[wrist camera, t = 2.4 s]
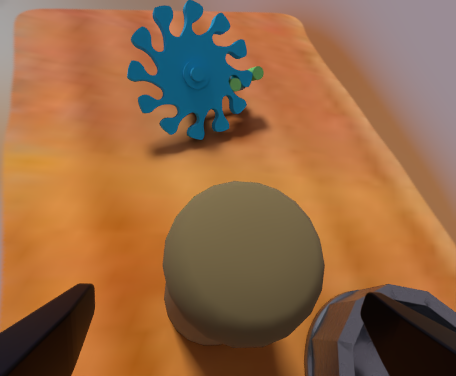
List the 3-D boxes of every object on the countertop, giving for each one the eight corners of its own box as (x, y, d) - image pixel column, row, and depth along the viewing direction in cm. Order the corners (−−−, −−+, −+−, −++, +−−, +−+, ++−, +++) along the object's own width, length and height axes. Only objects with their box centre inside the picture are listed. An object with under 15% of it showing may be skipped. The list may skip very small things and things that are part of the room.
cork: (270, 271, 18) (375, 206, 8) (233, 366, 15) (330, 434, 5) (194, 229, 18) (211, 124, 9) (144, 314, 15) (87, 292, 6)
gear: (134, 142, 19) (120, -18, 16) (129, 135, 24) (118, 13, 21) (263, 138, 23) (270, 11, 21) (235, 133, 29) (238, 31, 26)
